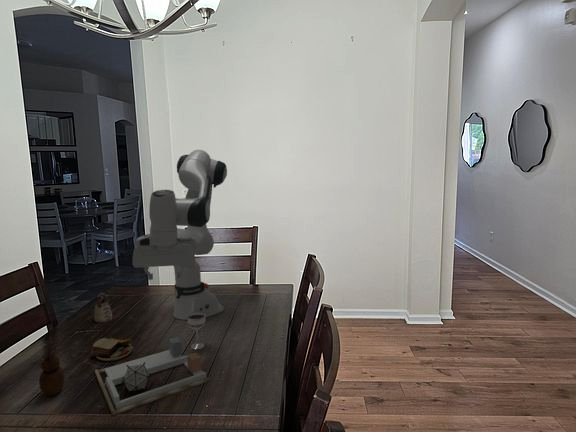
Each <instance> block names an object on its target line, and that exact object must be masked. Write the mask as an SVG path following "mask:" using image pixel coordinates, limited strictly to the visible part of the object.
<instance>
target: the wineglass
mask: <svg viewBox="0 0 576 432" xmlns="http://www.w3.org/2000/svg"><path fill="white" fill-rule="evenodd" d="M187 317H188V320H187V325H188V327H189V328H190V329H192V330H195V332H196V333H195V336H196V342H195V343H193V344H191V345H190V348H191V349H193V350H201V349H203V348H204V347H205V343H202V342H199V330H200V329H202V328H203V327H204V326H205V325H206V324H207V323H206V322H207V317H206V318H205V313H202V312H195V313H191V314H189V315H188V316H187Z"/></svg>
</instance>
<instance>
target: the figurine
mask: <svg viewBox="0 0 576 432" xmlns="http://www.w3.org/2000/svg"><path fill="white" fill-rule="evenodd" d="M96 301H97V303H96V304H95V306H94V311H93V312H94V313H93V314H94V315H93V318H94V319H93V320H94V322H95V323H101V324H102V323H107V322H110V321H112V319H113V312H112V308H111V305H110V301H109V298H108V294H106V293H104V292H101V293H99V294H98V295H97V300H96Z"/></svg>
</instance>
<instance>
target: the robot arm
mask: <svg viewBox="0 0 576 432" xmlns="http://www.w3.org/2000/svg"><path fill="white" fill-rule="evenodd" d="M176 172H177V174H178V179H179V181H180V183H181V184H182V185H183V187H184V188H186V189H187V192H186V193H185V194H186V195H185V198H176V194H175V192H174V190H172V189H171V190H170V189H158V190H155V191H153V192H152V193H150V199H149V212H148V213H149V220H150V227H149V233H146V234H144V235H141V236H139V237H137V238H136V239H135V248H134V249H133V252H132V266H133V267H134V268H136V269H137V268H143V270H144V272H145V274H146V275H147V281H151V280H152V281H153V280H154V279H153V278H154V274H153V273H151V272H150V271H149V270H150V268H152V267H155V268H156V267H173V270H174V280H175V281H174V283H175V284H174V297H175V301H174V302H175V303H174V311H173V314H172V316H173V317H174V318H175V319H178V320H183V321H184V320H187V321H188V317H187V316H188V315H189V314H191V313H195V312H202V313H205V318H206V319H207V318H209V317H212V316H214V315H217V314H219V313H222V312H224V306H223V305H222V304H221V303H219V301H218V298H217V296H216V295H215V294H214V293H212V292H210V291H209V290H207V289H208V288H209V287H210V286H209V284H208V283H206V282H203V281H201V280H202V279H201V275H202V274H201V266H200V264H199V263H198V262H197V261H196V256H205V255H209V254H210V252H212V250H213V248H214V246H215V245H214V243H215V241H214V238H213V237H214V236H213V235H212V234H211V233H210V231H209V229H208V226H207V224H208V223H209V221H210V218H211V202H212V193H213V188H214V189H215V188H216V187H217V186H219V185H222V184H223V183H224V182H225V179H226V178H227V176H228V169H227V165H226V163H225V162H223V161H221V160H216V159H213V158H211V156H210V154H208V152H207V151H205V150H203V149H195V150H193V151H192V152H190V153H189V154H183V155H181V156H180V157H179V158H178V161H177V163H176ZM179 226H181V227H182V226H183V227H186V226H187V227H186V228H178V227H179Z"/></svg>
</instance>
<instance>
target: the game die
mask: <svg viewBox="0 0 576 432" xmlns="http://www.w3.org/2000/svg"><path fill="white" fill-rule="evenodd" d="M144 364H145V362H144V363H143V365H137V366H130V367H129V366H128V365H127V367H128V369H127V372H126V374H125V377H124V378H123V381H121V382H124V385H125V387H126V389H127V390H128V391H127V395H129V394H130V393H131V392H135V391H141V390H143V391H144V392H147V389H146V387H147V383H148V380H149V379H150V378H151V375H152V374H151V373H150V374H149V373H148V371H147V369H146V368H145V366H144Z"/></svg>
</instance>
